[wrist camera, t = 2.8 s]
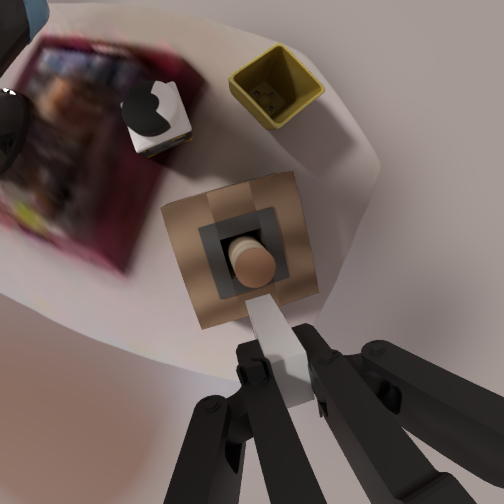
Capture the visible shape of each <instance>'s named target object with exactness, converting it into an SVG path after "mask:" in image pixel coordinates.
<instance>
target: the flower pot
mask: <svg viewBox="0 0 504 504" xmlns="http://www.w3.org/2000/svg"><path fill="white" fill-rule="evenodd" d="M228 80H229V88H230V92H231V94H232V95H233V96H234V97H235V98H236V99H237V100H238V101H239V102H240V103H241V104H242V105H243V106H244V107H245V108H246V109H247V110H248V111H249V112H250V113H251V114H252V115H253V116H254V117H255V118H256V120H257V121H258V122H259V123H260V124H261V125H262V126H263V127H264V128H265V129H267V130H274V129H279V128H281V127H282V126H283V125H285V124H286V123H287V122H288V121H289V120H290V119H292V118H293V117H294V116H295V115H296V114H298V113H299V112H300V111H301V110H303V109H304V108H305V107H306V106H308V105H309V104H310V103H311V102H313V101H314V100H315V99H317V98H318V97H319V96H321V95H322V94H323V93H324V92H325V88H324V86H323V85H322V84H321V83H320V82H319V81H318V79H317V78H316V77H315V76H314V75H313V74H312V73H311V72H310V71H309V70H308V69H307V68H306V67H305V66H304V65H303V64H302V63H301V62H300V61H299V60H298V59H297V58H296V57H295V55H294V54H293V53H292V52H291V51H290V50H289V49H288V48H287V47H285V46H284V45H283V44H281V43H276V44H275V45H273V46H272V47H270V48H269V49H268V50H266V51H265V52H263V53H262V54H260V55H259V56H257V57H256V58H255V59H253V60H252V61H250V62H249V63H247V64H246V65H244V66H243V67H241V68H240V69H238V70H237V71H235V72H234V73H233V74H231V75H230V76H229V78H228ZM256 91H257V92H258V93H259V94H258V95H256V94H255V92H256ZM270 93H273V94H274V95H273V96H270ZM270 107H273V110H270Z"/></svg>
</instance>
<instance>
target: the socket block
mask: <svg viewBox="0 0 504 504" xmlns="http://www.w3.org/2000/svg"><path fill="white" fill-rule="evenodd" d="M160 209H161V212H162V215H163V219H164V222H165V225H166V228H167V232H168V235H169V238H170V241H171V244H172V247H173V250H174V253H175V256H176V259H177V262H178V265H179V268H180V271H181V274H182V277H183V280H184V283H185V285H186V288H187V291H188V294H189V296H190V299H191V302H192V305H193V307H194V310H195V313H196V315H197V318H198V321H199V323H200V326H201V328H202V330H203V329H206V328H210V327H213V326H216V325H220V324H223V323H227V322H230V321H233V320H237V319H240V318H243V317H246V316H249V313H248V310H247V306H246V303H245V301H246V300H250V299H253V298H257V297H260V296H263V295H267V294H270V295H271V297H272V298H273V300H274V302H275V303H276V305H277V306H280V305H283V304H286V303H289V302H292V301H295V300H298V299H301V298H304V297H307V296H310V295H313V294H315V293H318V292H319V289H318V284H317V278H316V273H315V268H314V263H313V258H312V253H311V248H310V243H309V238H308V234H307V229H306V224H305V220H304V215H303V211H302V206H301V202H300V198H299V194H298V189H297V185H296V181H295V177H294V173H293V171H289V172H282V173H275V174H271V175H267V176H263V177H259V178H255V179H251V180H248V181H244V182H240V183H236V184H233V185H229V186H225V187H222V188H218V189H215V190H211V191H208V192H204V193H201V194H198V195H194V196H191V197H188V198H184V199H181V200H178V201H175V202H171V203H168V204H166V205H165V206H163V207H161V208H160ZM249 231H252V232H253V236H254V238H255V239H256V240H257V241H258V242H259V243H260V244H261V245H262V246H263V247H264V248H265V249H266V250H267V251H268V252H269V253H270V254H271V255H272V257H273V258H274V261H275V265H276V269H275V274H274V276H273V278H272V279H271V280H270V282H268V283H267V284H266V285H264V286H262V287H258V288H250V287H247V286H245V285H243V284H242V283H241V282H240V281H239V280H238V278H237V276H236V274H235V271H234V269H233V266H232V264H231V261H230V260H229V261H226V260H225V257H224V253H223V250H222V246H221V243H220V240H222V239H225V238H228V237H232V236H235V235H238V234H242V233H245V232H249Z"/></svg>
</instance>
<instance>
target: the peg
mask: <svg viewBox="0 0 504 504" xmlns="http://www.w3.org/2000/svg"><path fill="white" fill-rule="evenodd" d="M227 252H228V256H229V259H230V261H231V264H232V266H233V269H234V271H235V274H236V276H237V278H238V280H239V281H240V282H241V283H242V284H243V285H245V286H247V287H250V288H258V287H262V286H264V285H266V284H267V283H268V282H270V280H271V279H272V278H273V276H274V274H275V269H276V265H275V261H274V258H273V257H272V255H271V254H270V253H269V252H268V251H267V250H266V249H265V248H264V247H263V246H262V245H261V244H260V243H259V242H258V241H257V240H256V239H255V238H253V237H252V236H250V235H246V234H243V235H238V236H236V237H234V238H233V239H232V240H231V241H230V243H229V245H228V250H227Z"/></svg>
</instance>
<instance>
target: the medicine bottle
mask: <svg viewBox="0 0 504 504" xmlns="http://www.w3.org/2000/svg"><path fill="white" fill-rule="evenodd" d="M121 108H122V117H123V120H124V122H125V124H126V125H127V127H128V130H129V133H130V136H131V139H132V142H133V144H134V147H135V150H136V152H137V153H139V154H141V155H143V156H145V157H147V158H149V157H151V156H153V155H156V154H158V153H160V152H163V151H165V150H168V149H170V148H172V147H175V146H177V145H180V144H182V143H185V142H188V141H190V140H192V139H193V134H192V128H191V125H190V122H189V120H188V117H187V114H186V111H185V109H184V106H183V103H182V101H181V98H180V95H179V92H178V90H177V87H176V84H175V82H173V81H172V82H169V83H166V84H165V83H163V82H160V81H147V82H143V83H141V84H139V85H137V86H135V87H134V88H133V89H131V90H130V92H129V93H128V94H127V95H126V97H125V99H124V101H123V102H122V103H121Z"/></svg>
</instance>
